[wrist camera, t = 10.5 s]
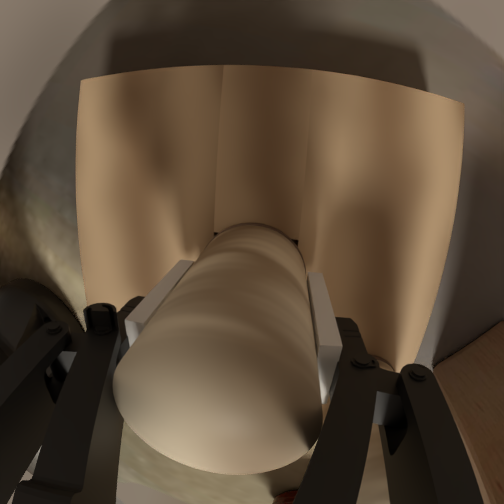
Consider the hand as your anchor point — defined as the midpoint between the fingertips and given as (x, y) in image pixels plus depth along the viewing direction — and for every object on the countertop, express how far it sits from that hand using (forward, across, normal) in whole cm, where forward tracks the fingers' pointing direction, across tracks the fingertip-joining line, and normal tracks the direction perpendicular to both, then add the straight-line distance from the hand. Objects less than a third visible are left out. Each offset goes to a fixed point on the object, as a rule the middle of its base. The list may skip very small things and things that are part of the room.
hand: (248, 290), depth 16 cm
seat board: (+7, 0, 0) cm, 7 cm away
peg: (+6, 0, 0) cm, 6 cm away
